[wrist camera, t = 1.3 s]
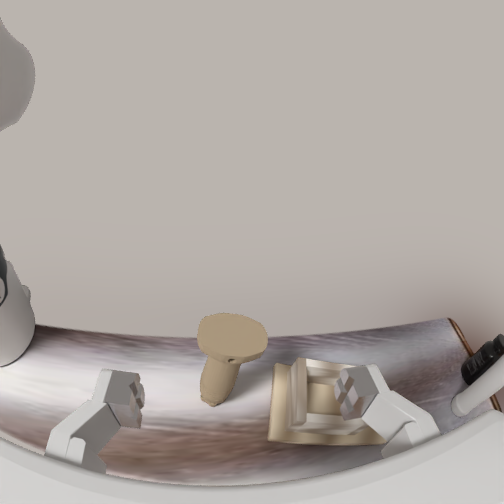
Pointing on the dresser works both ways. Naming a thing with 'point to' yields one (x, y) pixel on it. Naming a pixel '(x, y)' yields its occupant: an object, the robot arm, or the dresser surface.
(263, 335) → the handle
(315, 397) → the tool holder
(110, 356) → the dresser surface
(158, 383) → the dresser surface
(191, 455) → the dresser surface
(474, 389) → the bottle
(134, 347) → the dresser surface
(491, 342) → the supplement bottle
